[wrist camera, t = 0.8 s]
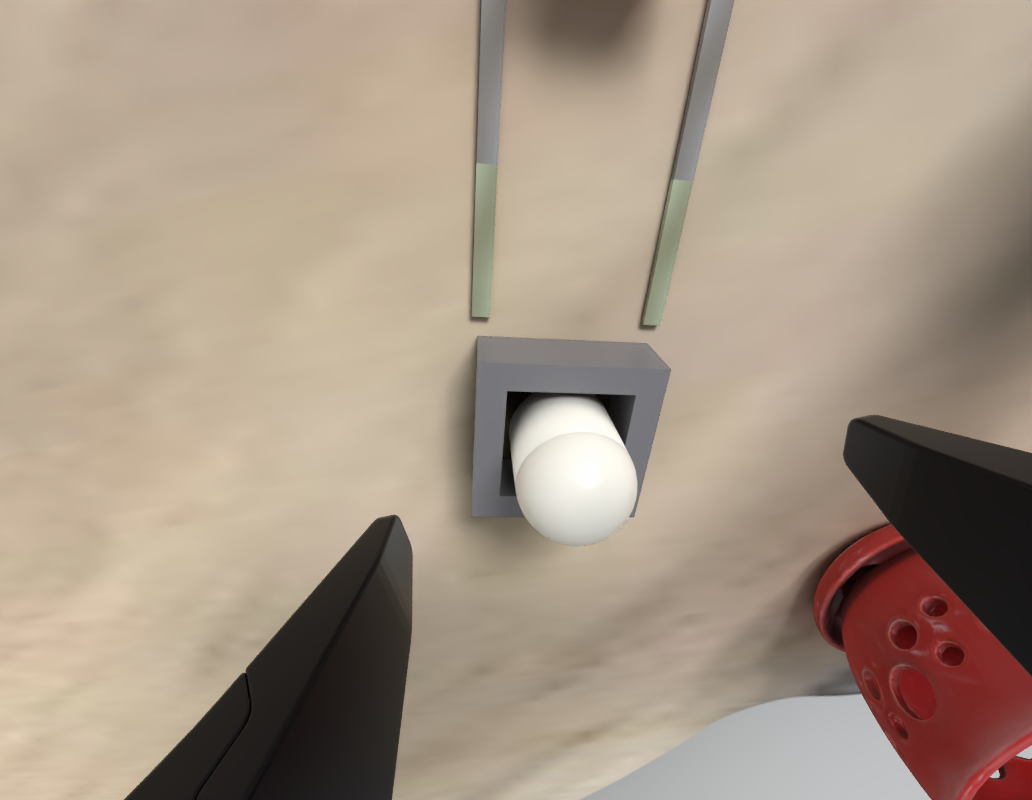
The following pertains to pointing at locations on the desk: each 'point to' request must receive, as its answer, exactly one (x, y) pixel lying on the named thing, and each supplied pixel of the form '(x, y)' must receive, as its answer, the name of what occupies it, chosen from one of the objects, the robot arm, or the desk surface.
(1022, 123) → the desk surface
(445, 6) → the desk surface
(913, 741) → the plant pot
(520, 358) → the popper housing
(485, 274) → the track
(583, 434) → the dome
